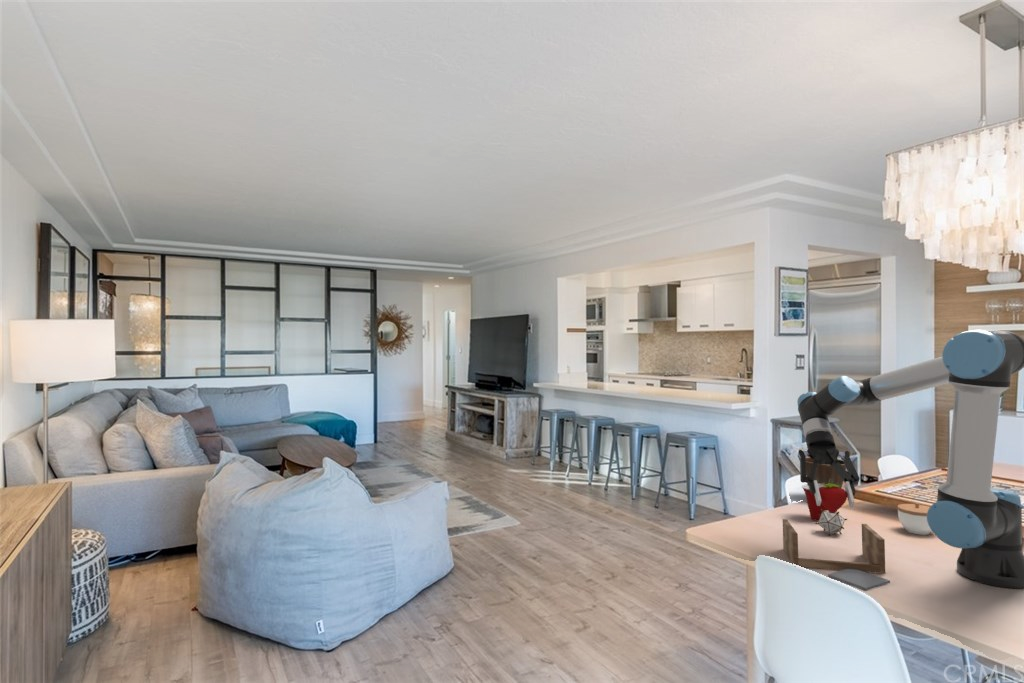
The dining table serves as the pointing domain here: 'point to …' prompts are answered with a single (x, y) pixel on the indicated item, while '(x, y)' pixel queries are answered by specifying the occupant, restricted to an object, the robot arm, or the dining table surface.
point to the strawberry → (832, 496)
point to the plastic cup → (813, 503)
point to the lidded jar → (914, 518)
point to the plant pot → (825, 473)
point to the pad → (859, 578)
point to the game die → (831, 522)
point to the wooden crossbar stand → (870, 550)
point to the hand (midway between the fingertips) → (835, 503)
